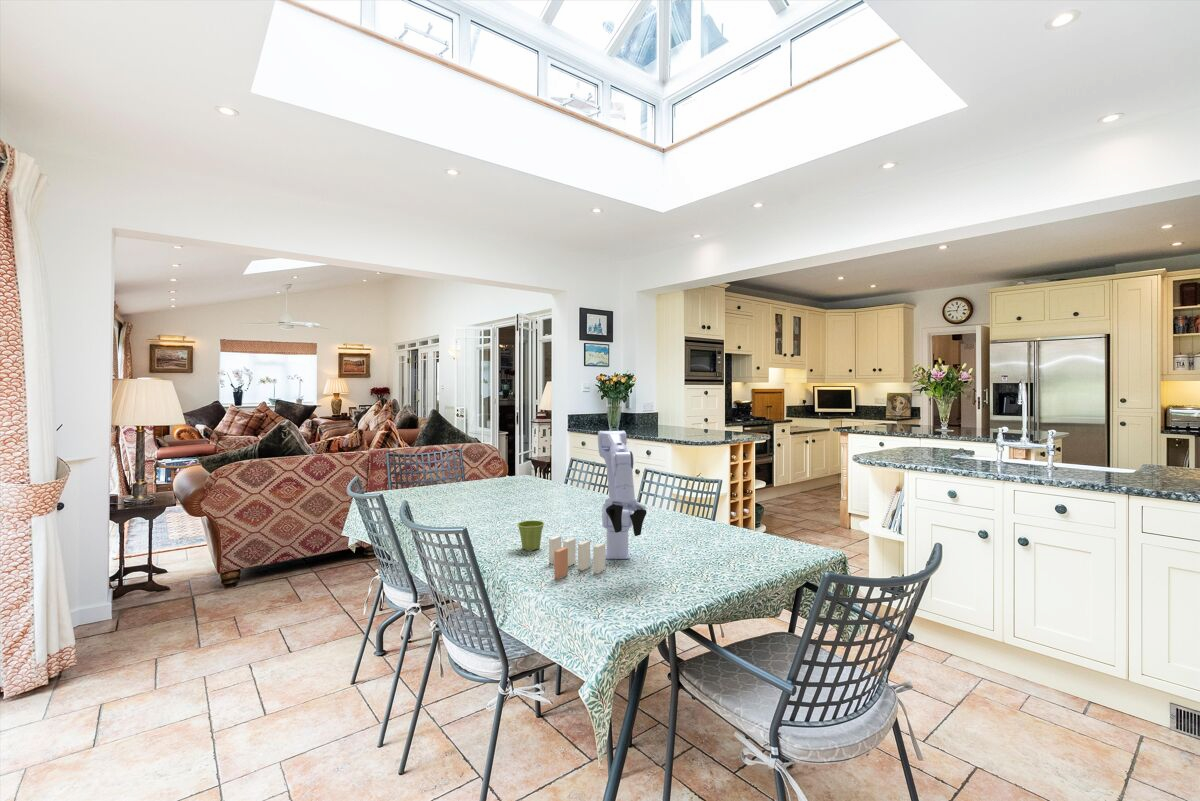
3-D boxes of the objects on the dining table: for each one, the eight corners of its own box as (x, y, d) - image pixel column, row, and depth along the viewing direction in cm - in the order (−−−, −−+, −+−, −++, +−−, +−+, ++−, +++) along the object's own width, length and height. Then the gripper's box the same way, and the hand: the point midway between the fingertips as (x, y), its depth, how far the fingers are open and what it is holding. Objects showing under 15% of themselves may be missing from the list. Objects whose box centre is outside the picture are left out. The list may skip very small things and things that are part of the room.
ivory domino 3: (578, 569, 165) (577, 543, 165) (585, 565, 169) (585, 540, 169) (582, 570, 164) (582, 544, 164) (590, 566, 168) (590, 541, 168)
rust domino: (554, 578, 158) (554, 551, 158) (563, 573, 162) (563, 547, 161) (558, 579, 157) (558, 551, 157) (567, 574, 161) (567, 548, 161)
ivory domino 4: (593, 572, 162) (593, 546, 162) (600, 568, 166) (600, 542, 166) (597, 573, 161) (597, 547, 161) (605, 569, 165) (605, 543, 165)
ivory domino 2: (563, 566, 168) (563, 541, 168) (571, 562, 172) (571, 537, 172) (567, 567, 167) (567, 541, 167) (575, 563, 171) (575, 538, 171)
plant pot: (515, 552, 183) (514, 526, 183) (520, 544, 192) (519, 520, 192) (542, 552, 183) (542, 527, 182) (546, 544, 192) (546, 520, 192)
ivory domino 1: (549, 563, 171) (548, 538, 171) (557, 559, 175) (557, 535, 174) (553, 564, 170) (553, 539, 170) (561, 560, 174) (561, 536, 174)
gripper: (615, 480, 156) (618, 526, 149) (650, 489, 164) (655, 533, 158) (599, 487, 161) (602, 532, 154) (635, 496, 169) (639, 539, 162)
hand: (628, 533), depth 156 cm, fingers open, 7 cm apart
